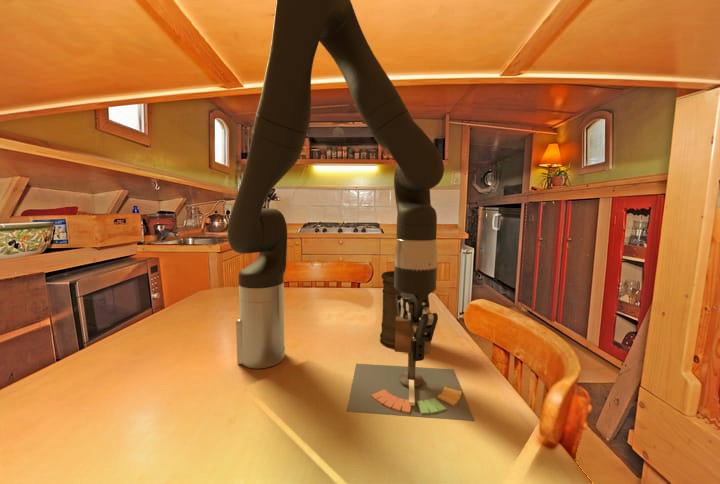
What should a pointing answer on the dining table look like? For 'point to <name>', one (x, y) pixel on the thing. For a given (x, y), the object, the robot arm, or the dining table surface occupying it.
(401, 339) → the peg knob
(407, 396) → the dial board
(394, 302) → the container
